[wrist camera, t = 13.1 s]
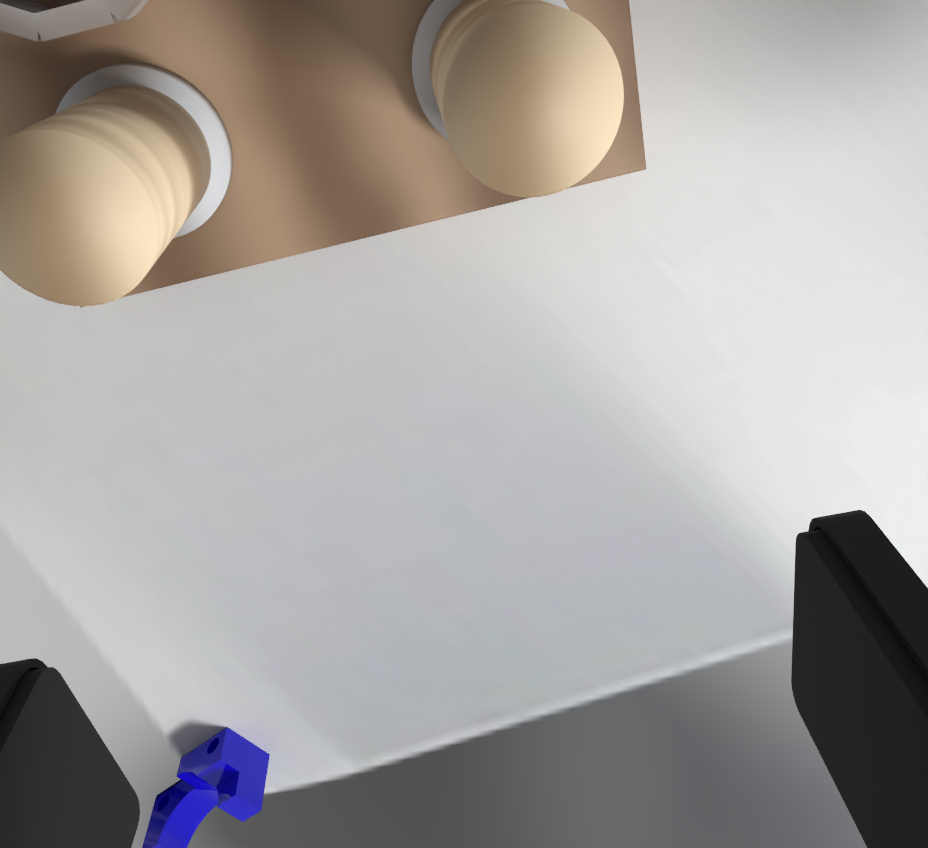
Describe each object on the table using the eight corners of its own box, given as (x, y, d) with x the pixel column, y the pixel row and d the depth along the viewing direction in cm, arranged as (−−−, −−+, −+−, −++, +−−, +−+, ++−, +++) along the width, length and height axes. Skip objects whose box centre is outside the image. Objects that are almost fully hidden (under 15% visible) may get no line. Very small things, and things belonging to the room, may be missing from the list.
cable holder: (227, 724, 49) (215, 782, 46) (269, 751, 51) (261, 810, 47) (137, 784, 51) (119, 844, 48) (180, 809, 53) (166, 869, 49)
